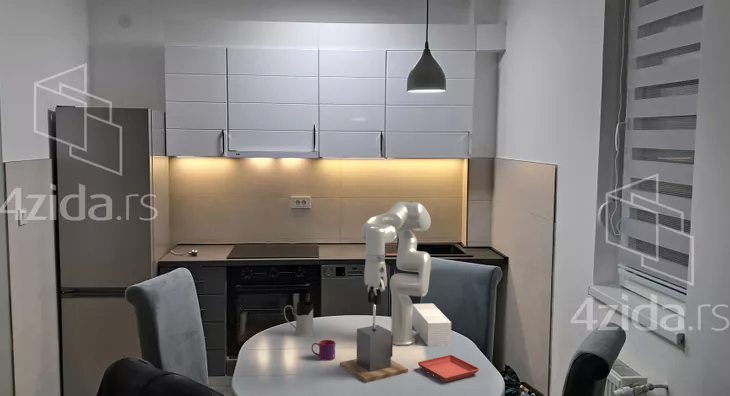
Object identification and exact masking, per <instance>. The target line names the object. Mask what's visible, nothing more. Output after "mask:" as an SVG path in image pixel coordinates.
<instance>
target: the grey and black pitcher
mask: <svg viewBox="0 0 730 396" xmlns="http://www.w3.org/2000/svg"><path fill="white" fill-rule="evenodd" d="M288 307H289V308H291V310H292V314H293V315H294V316H296V320H295V321H296V323H295V324H296V326H295V325H294V324H293V323H292V322H290V321H289V320H288V318H287V316H286V308H288ZM283 315H284V318H285V320H286V322H287V323H289V325H291V326H292V328H294V329H295V333H294V335H295V336H296V337H298V338H309V337H313V336H314V335H315V334H314V308H313V301H312V302H311V301H308V300H303V301H298V302H297V303H296V313H294V308H293V306H292V305H285V307H284V309H283Z"/></svg>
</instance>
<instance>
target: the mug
mask: <svg viewBox="0 0 730 396" xmlns="http://www.w3.org/2000/svg"><path fill="white" fill-rule="evenodd" d="M315 345H317V346H318V348H319V349H318V351H319V352H318V353H317V352H316V351H315V350H314V346H315ZM311 352H312V353H313V354H314V355H315V356H318V357H319V360H321V361H324V362H325V361H328V362H329V361H333V360H335V359H336V341H335V340H332V339H323V340H320V341H319V343H318V342H314V343H312V345H311Z"/></svg>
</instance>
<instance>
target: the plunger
mask: <svg viewBox="0 0 730 396" xmlns="http://www.w3.org/2000/svg"><path fill="white" fill-rule="evenodd" d="M374 295H375V291H372V292H371V300H372V301H373V302H372V326H373V331H375V325H376V316H377V315H376V312H377V311H376V309H377V308H376V307H377V305H374Z"/></svg>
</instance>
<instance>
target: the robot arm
mask: <svg viewBox="0 0 730 396" xmlns="http://www.w3.org/2000/svg"><path fill="white" fill-rule="evenodd" d="M431 222H432V220H431V216H430V214H429V212H428V211H427V209H426V207H425V206H424V205H423V204H422V203H420V202H414V201H412V202H411V201H398V202H396V203H394V204H393V205H392V206H391V208H390V209H388V211H387V212H384V213H381V214H378V215H374V216H372V217H370V218H368V219H367V220H366V222H364V224H363V226H362V227H361V229H360V230H361V232H360V235H361V238H362V240H363V241H365V265H364V273H363V274H364V275H363V276H364V285H365V286H366V289H367V291H366V292H367V303H373V301H372V300H371V292H372V291H375V295H374V305H376V306H377V305H381V304H382V295H383V292H384V291H386V287H387V286H388V285H387V284H388V282H387V281H388V280H387V279H388V277H387V276H388V275H387V267H386V262H385V259H386V256H385V251H386V249H385V248H386V246H385V244H391V243H393V242H394V241H395V240H396V238H397V237H398V245H397V246H398V247H397V252H396V253H397V254H396V263H395V264H396V268H397V269H398V270H400V271H405V272H412V273H413V272H415V273H418V274H414V273H413V274H412V273H403V272H402V273H399V272H398V273H394V274H393V275H391V278H390V280H389V287H390V293H391V328H390V329H391V330H390V331H391V335H393V345H396V346H409V345H413V344H415V343H416V338H415V337H416V336H420V331H416V330H415V329H413V325H412V311H413V305H412V304H413V301H412V299H411V296H413V297H425V296H427V294H428V291H429V285H430V277H431V271H432V270H431V268H432V258H431V255H430V254H429V253H428V252H427V251H421V250H417V247H418V238H417V237H416V235H415V234H414V232H413V231H415V232H417V231H418V232H419V231H420V232H425V231H426V232H427V231H428V230H429V229H430V227H431V224H432V223H431Z"/></svg>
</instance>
